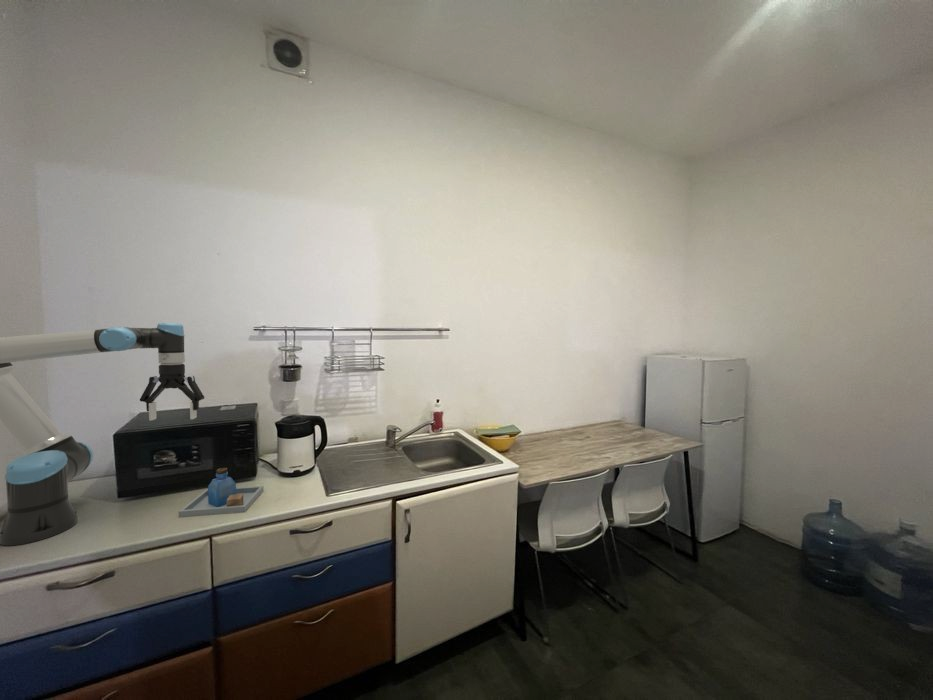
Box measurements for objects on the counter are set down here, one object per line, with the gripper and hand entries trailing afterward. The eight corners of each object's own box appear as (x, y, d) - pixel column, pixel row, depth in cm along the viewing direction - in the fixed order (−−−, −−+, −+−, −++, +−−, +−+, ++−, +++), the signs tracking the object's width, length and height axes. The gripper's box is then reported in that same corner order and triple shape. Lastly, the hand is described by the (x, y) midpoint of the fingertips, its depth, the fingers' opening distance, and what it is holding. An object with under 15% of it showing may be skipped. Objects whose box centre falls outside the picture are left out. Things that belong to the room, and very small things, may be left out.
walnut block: (226, 511, 117) (226, 500, 117) (230, 506, 121) (230, 495, 120) (240, 509, 118) (240, 498, 118) (243, 504, 122) (243, 493, 122)
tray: (178, 518, 113) (178, 511, 113) (205, 496, 129) (205, 489, 129) (244, 513, 117) (244, 506, 117) (263, 492, 133) (263, 485, 133)
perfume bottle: (227, 496, 128) (226, 464, 127) (236, 500, 125) (235, 468, 124) (208, 503, 122) (207, 470, 122) (217, 507, 119) (216, 474, 119)
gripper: (125, 364, 123) (127, 422, 124) (203, 364, 128) (204, 420, 129) (141, 362, 130) (142, 417, 131) (214, 362, 135) (215, 415, 136)
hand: (173, 419), depth 130 cm, fingers open, 13 cm apart
